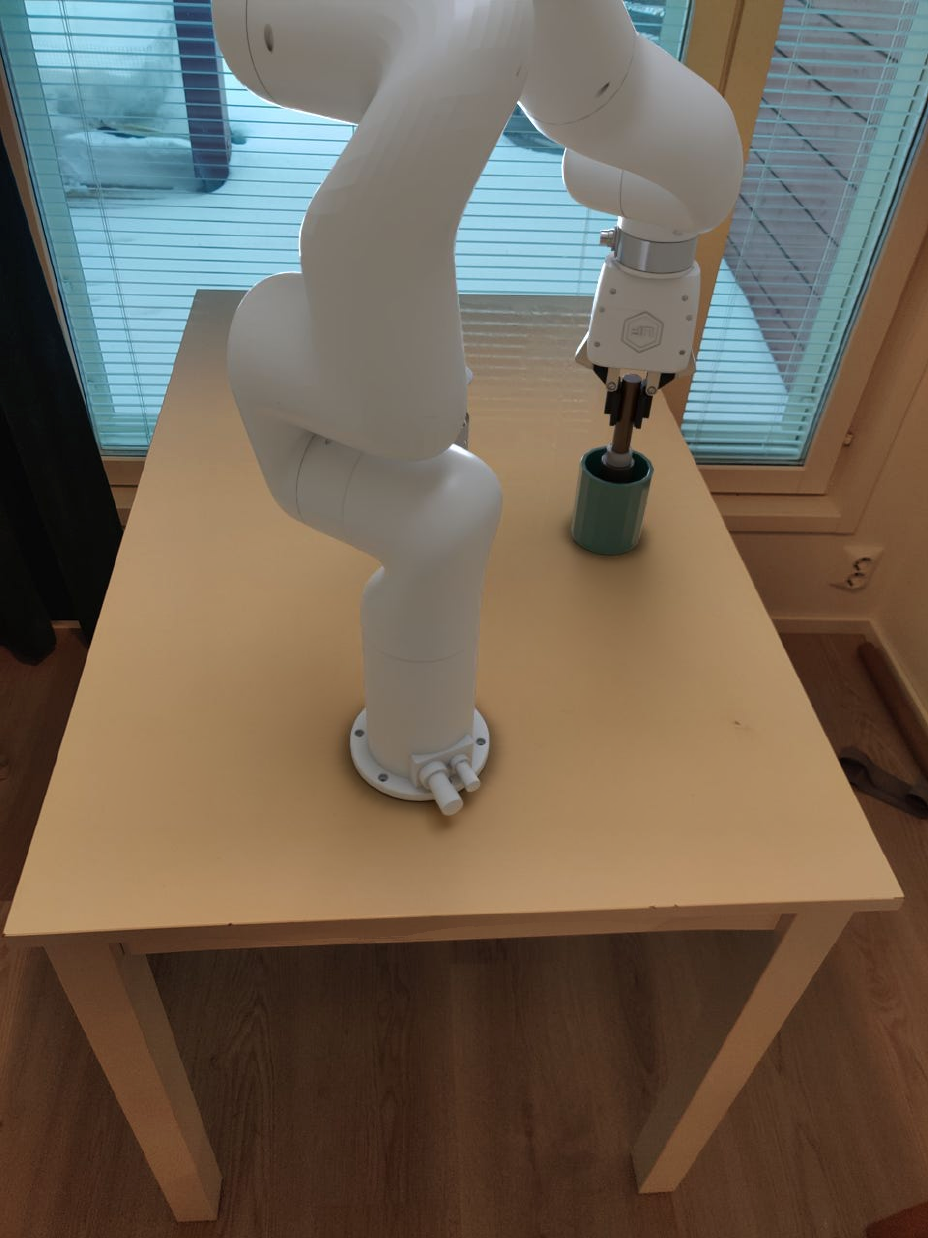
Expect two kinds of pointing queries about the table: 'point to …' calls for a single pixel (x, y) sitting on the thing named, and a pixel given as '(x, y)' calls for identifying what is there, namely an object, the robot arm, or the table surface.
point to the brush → (622, 435)
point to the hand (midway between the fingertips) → (625, 419)
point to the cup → (610, 505)
